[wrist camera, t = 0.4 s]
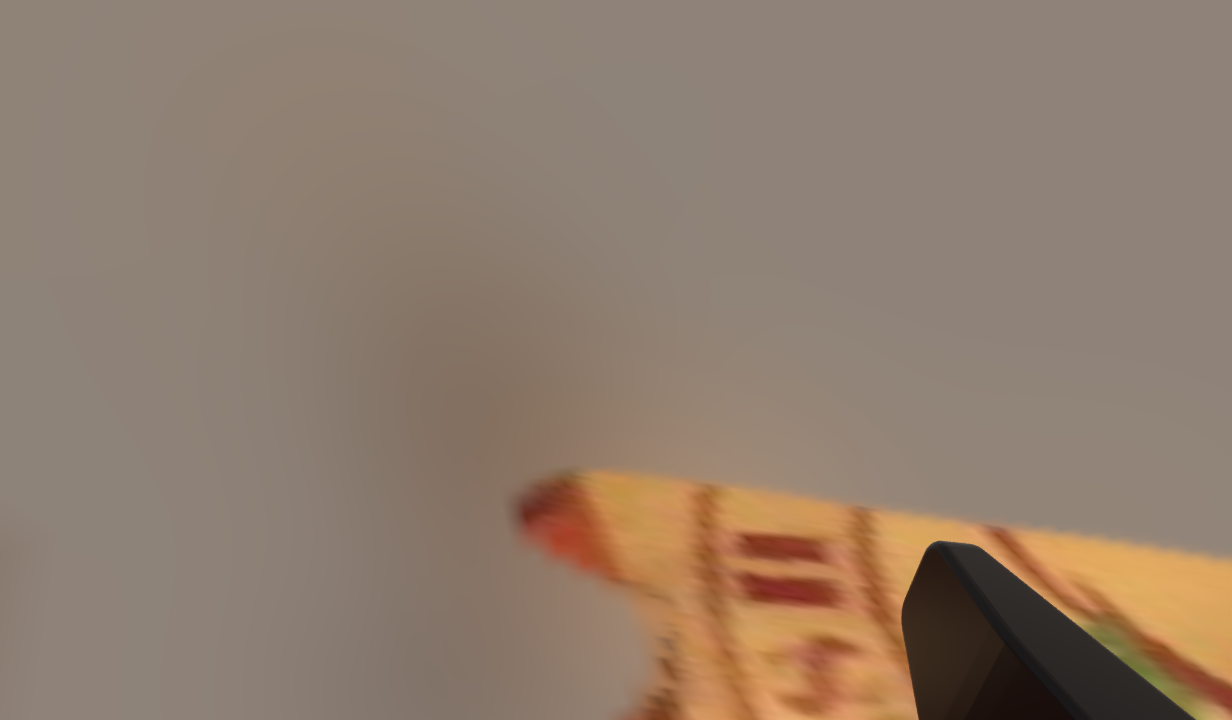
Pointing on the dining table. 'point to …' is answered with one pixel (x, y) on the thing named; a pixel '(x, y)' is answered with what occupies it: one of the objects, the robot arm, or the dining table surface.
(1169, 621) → the dining table surface
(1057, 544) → the dining table surface
